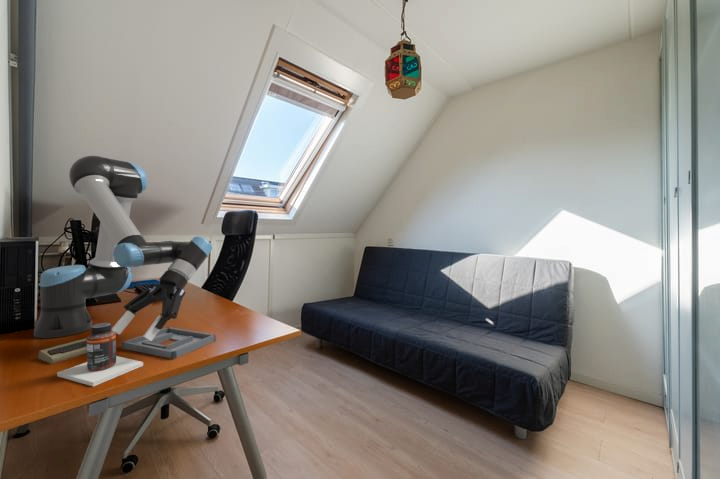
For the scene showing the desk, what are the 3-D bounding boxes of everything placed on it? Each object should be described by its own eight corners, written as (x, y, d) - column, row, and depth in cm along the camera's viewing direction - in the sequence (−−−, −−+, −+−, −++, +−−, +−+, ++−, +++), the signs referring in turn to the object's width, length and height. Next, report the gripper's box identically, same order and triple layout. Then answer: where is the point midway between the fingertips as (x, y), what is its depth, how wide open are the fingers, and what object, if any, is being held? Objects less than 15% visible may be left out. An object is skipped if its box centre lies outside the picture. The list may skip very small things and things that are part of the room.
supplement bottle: (112, 359, 85) (112, 320, 85) (119, 366, 82) (119, 324, 81) (84, 367, 81) (84, 325, 80) (90, 374, 77) (89, 329, 77)
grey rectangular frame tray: (121, 348, 96) (121, 342, 96) (168, 332, 111) (168, 326, 111) (173, 359, 89) (173, 352, 89) (216, 340, 104) (216, 334, 104)
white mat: (57, 376, 78) (57, 372, 78) (109, 357, 89) (109, 354, 89) (93, 386, 73) (93, 382, 73) (143, 365, 84) (143, 362, 84)
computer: (52, 365, 84) (51, 354, 84) (37, 360, 88) (37, 349, 88) (116, 346, 99) (116, 336, 99) (102, 342, 102) (102, 332, 102)
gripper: (212, 285, 99) (170, 347, 86) (158, 279, 108) (112, 335, 95) (199, 271, 94) (151, 335, 81) (143, 266, 103) (92, 323, 89)
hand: (130, 335), depth 88 cm, fingers open, 13 cm apart
